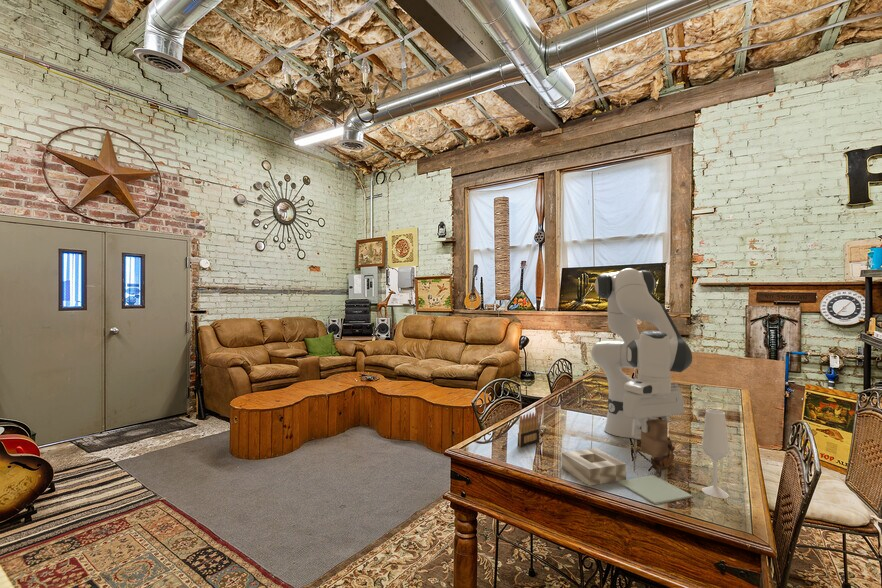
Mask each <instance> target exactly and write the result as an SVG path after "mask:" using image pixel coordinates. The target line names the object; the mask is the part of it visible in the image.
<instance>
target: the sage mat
mask: <svg viewBox="0 0 882 588" xmlns="http://www.w3.org/2000/svg"><path fill="white" fill-rule="evenodd" d="M617 483H618V484H619V485H621V486H622V487H625V488H627V489H628V490H629V491H631V492H633V493H634V494H637V495H638V496H640V497H642V498H643V499H645V501H648V502H650V503H652V504H653V505H658V504H659V505H660V504H663V503H670V502H674V501H681V500H685V499H690V498H693V494H691V493H689V492H687V491H685V490H683V489H681V488H679V487H677V486H675V485H673V484H671V483H669V482H667V481H665V480H663V479H662V478H660V477H658V476H656V475H654V474H653V475H648V476H647V475H646V476H641V477H634V478H628V479H626V480H621V481H617Z"/></svg>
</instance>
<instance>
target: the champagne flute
mask: <svg viewBox="0 0 882 588" xmlns="http://www.w3.org/2000/svg"><path fill="white" fill-rule="evenodd" d="M704 416H705V417H704V426H703V433H702V434H703V435H702V440H701V441H702V443H701V448H702V450H703V452H704V453H705V454H706V456H708V457H709V458H710V459H711V460H712V485H710V486H705V487H703V488H701V491H702V492H703V493H704V494H706V496H707V495H708V496H710V497H713V498H717V499H727V498H729V497H730V495H729V493H727V492H726V491H725V490H723V489H722V488H720V487H719V486H718V481H719V480H718V478H719V477H718V474H719V473H718V470H719V468H718V461H721V460H722V459H724V458H725V457H727V455H728V454H729V453H730V449H729V448H730V447H729V438H728V428H727V420H726V412H725V411H722V410H718V409H706V410H705V415H704Z"/></svg>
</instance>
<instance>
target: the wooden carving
mask: <svg viewBox="0 0 882 588" xmlns="http://www.w3.org/2000/svg"><path fill="white" fill-rule="evenodd" d="M675 450H676V446H673V442H672V440H671V438H670V436H668V455H667V456H660V457H653V456H651V455H650V462H651V464H652V465H651V466H652V470H659V471H661V470H662V469H663V468H665V469H668V468H669V467H670V466H671V465H672V464H673V462H674V458H675V454H674V451H675Z"/></svg>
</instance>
